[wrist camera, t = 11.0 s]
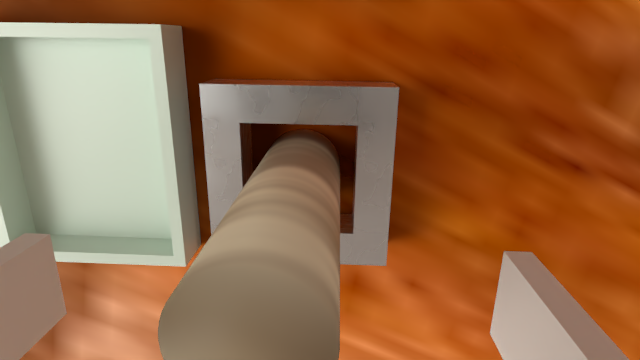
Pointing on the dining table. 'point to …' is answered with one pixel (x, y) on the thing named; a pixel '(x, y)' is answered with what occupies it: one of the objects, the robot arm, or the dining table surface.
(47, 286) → the robot arm
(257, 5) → the dining table surface
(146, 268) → the dining table surface
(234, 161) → the collar
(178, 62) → the tray
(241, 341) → the dowel
